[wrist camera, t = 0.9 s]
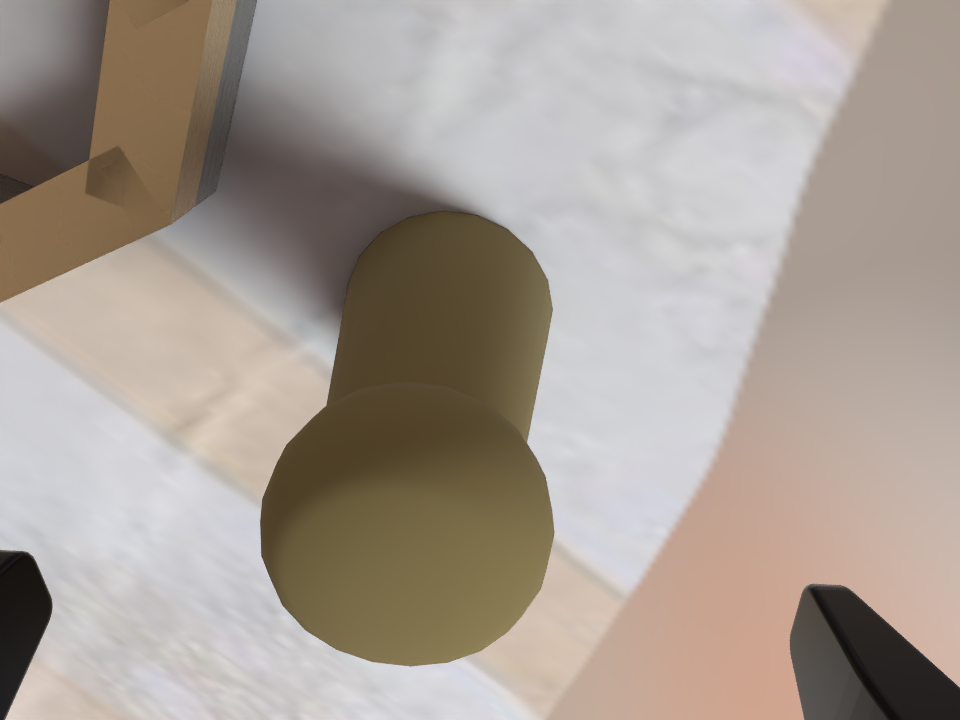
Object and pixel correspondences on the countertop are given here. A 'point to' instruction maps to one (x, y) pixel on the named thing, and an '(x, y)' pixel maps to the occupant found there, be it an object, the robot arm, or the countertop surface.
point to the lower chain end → (8, 188)
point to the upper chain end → (126, 143)
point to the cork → (421, 452)
